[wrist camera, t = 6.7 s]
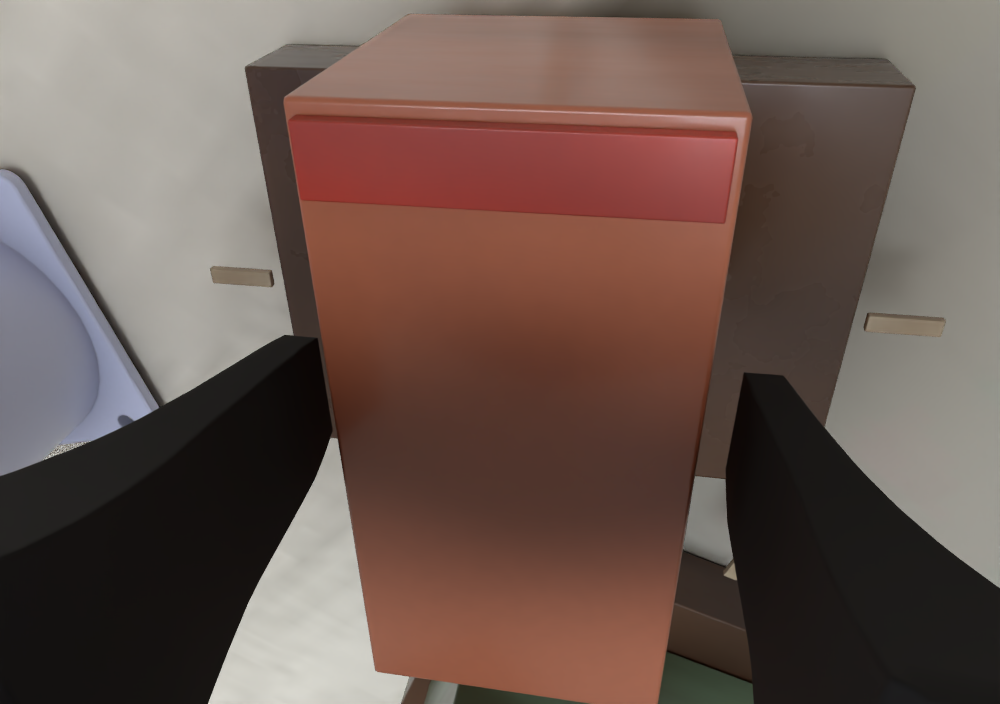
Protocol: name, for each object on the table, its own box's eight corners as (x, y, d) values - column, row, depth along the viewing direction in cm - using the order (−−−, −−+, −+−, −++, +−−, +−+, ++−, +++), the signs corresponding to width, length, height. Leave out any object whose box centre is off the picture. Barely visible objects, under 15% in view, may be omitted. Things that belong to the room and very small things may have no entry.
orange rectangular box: (658, 505, 19) (656, 727, 14) (440, 482, 20) (370, 684, 15) (722, 18, 13) (756, 118, 8) (406, 12, 14) (271, 101, 9)
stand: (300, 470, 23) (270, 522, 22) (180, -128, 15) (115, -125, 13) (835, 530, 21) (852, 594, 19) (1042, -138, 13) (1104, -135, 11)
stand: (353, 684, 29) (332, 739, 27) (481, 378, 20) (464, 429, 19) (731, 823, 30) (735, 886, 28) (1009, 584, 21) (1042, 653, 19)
